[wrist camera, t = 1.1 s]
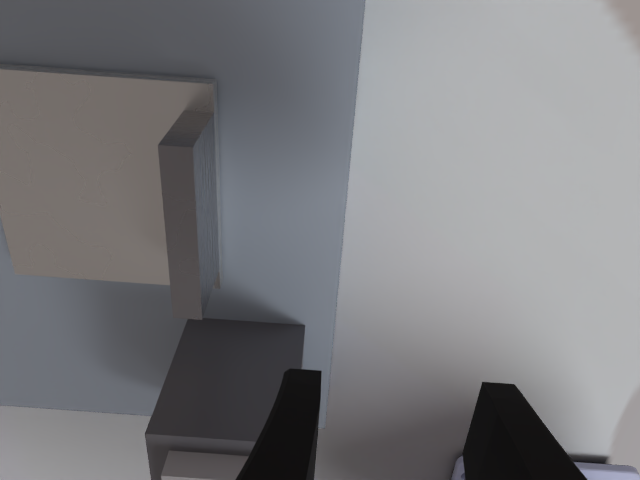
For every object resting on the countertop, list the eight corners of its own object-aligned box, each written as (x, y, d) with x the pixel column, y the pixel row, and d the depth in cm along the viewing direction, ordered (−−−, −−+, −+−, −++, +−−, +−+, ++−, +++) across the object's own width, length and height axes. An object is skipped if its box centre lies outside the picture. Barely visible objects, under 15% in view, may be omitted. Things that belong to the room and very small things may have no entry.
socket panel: (326, 390, 24) (325, 428, 22) (-58, 363, 24) (-89, 399, 22) (369, -75, 15) (371, -71, 14) (-234, -117, 15) (-307, -119, 14)
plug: (300, 408, 22) (286, 560, 17) (194, 400, 22) (149, 550, 17) (305, 325, 20) (292, 470, 15) (188, 317, 20) (135, 459, 15)
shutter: (222, 279, 19) (203, 341, 16) (22, 265, 19) (-29, 324, 16) (216, 79, 15) (190, 115, 13) (-27, 61, 15) (-103, 95, 13)
